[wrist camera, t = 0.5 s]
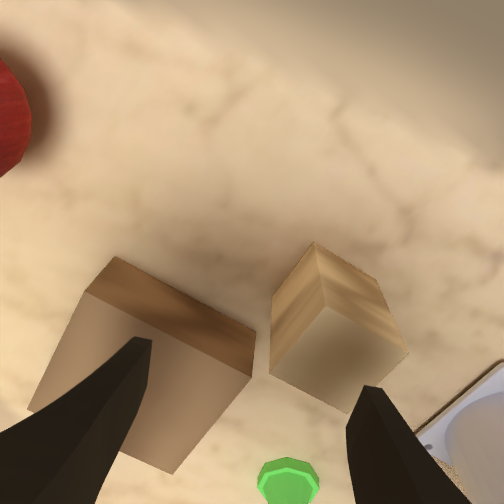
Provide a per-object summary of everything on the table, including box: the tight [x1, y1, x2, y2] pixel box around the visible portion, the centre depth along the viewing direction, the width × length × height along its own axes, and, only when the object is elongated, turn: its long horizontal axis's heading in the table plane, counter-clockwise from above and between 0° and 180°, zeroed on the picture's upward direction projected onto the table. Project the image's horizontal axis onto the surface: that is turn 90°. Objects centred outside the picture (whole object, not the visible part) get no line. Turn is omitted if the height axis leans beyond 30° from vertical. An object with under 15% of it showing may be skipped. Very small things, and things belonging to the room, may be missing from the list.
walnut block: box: [27, 257, 256, 475], centre depth 23 cm, size 9×9×4 cm
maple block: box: [269, 242, 409, 414], centre depth 19 cm, size 4×4×6 cm
